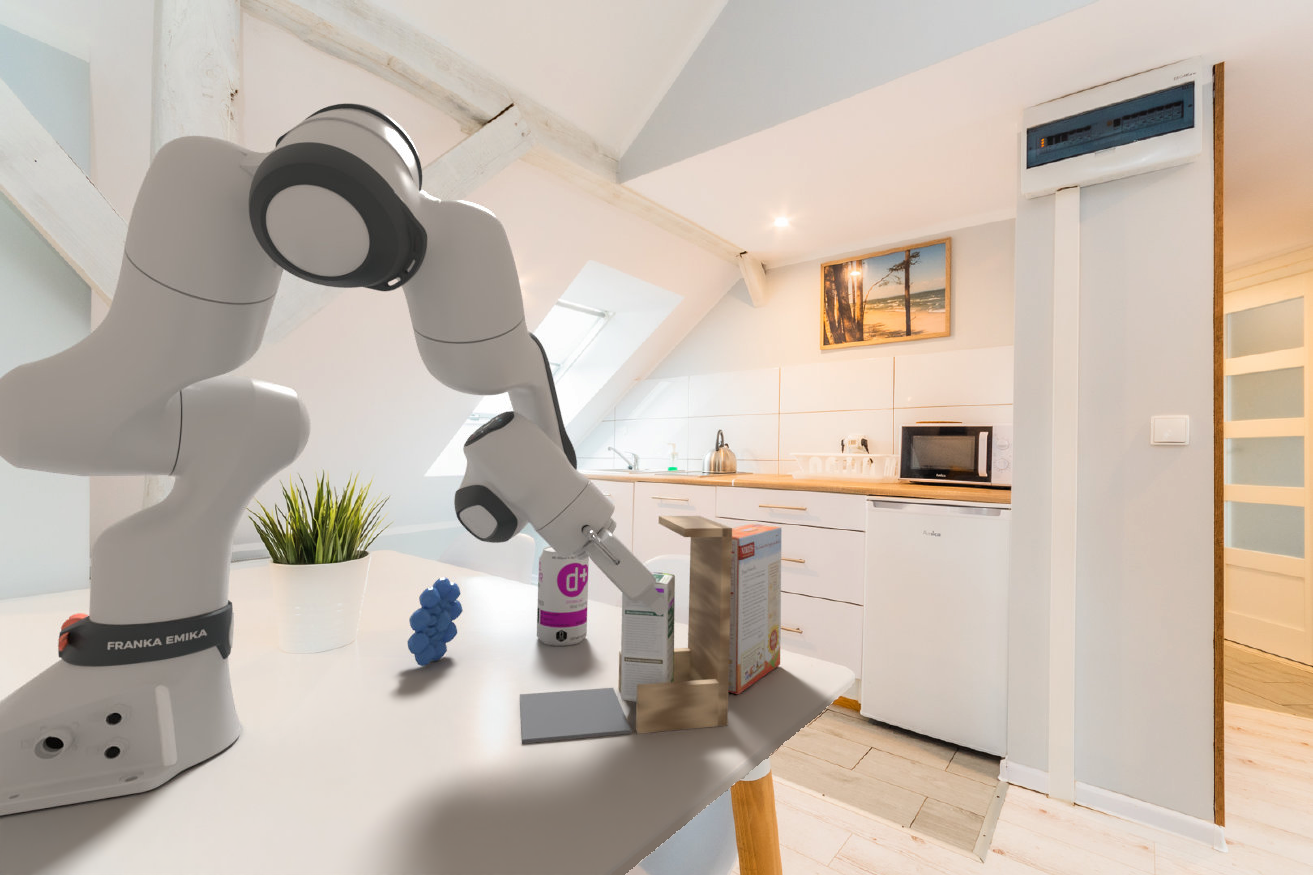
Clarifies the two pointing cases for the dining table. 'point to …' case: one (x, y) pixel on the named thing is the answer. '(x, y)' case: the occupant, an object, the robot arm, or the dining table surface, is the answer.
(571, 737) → the mat
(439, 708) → the dining table surface
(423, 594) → the grapes
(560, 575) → the supplement can
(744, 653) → the cracker box
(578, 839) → the dining table surface
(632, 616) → the syrup box
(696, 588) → the shelf slot
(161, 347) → the robot arm
